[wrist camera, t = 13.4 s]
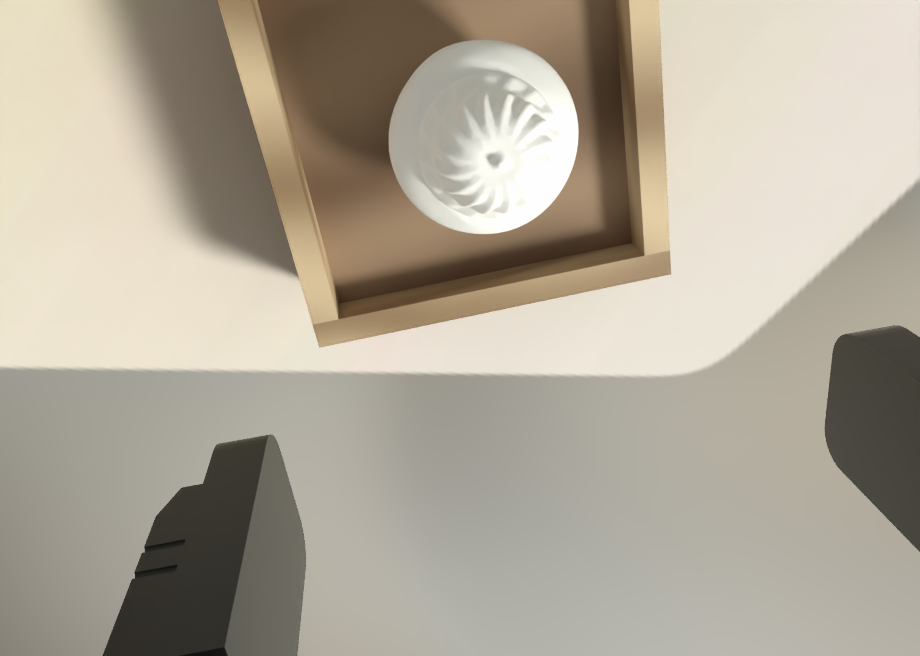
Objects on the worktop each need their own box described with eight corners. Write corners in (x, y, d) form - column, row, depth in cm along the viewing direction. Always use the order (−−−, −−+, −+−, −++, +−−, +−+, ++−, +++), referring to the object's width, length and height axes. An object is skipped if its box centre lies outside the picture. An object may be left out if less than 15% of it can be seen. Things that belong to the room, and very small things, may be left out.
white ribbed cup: (354, 83, 26) (348, 114, 19) (512, -1, 25) (557, 1, 19) (435, 233, 28) (452, 303, 22) (579, 159, 28) (639, 210, 21)
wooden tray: (234, -50, 28) (200, -56, 22) (592, -119, 28) (652, -143, 22) (326, 283, 34) (319, 347, 28) (619, 223, 35) (670, 274, 29)
